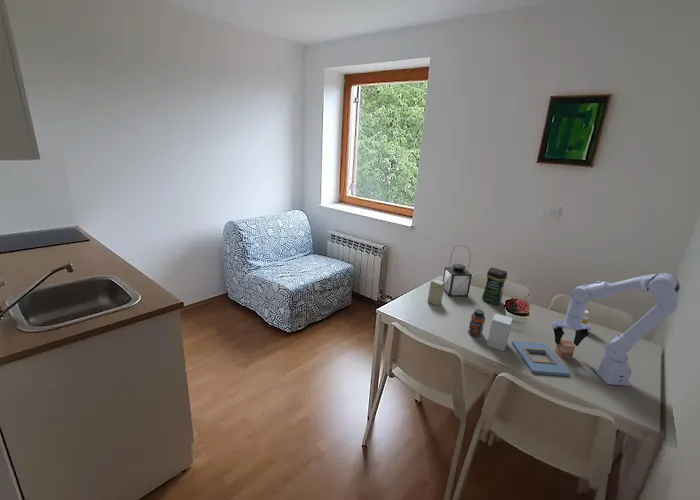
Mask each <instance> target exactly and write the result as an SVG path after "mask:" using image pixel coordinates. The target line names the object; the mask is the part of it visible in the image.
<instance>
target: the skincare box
mask: <svg viewBox="0 0 700 500" xmlns="http://www.w3.org/2000/svg"><path fill="white" fill-rule="evenodd" d="M444 286H445V282H443V280H439V279H436V278H434V279H431V280H430V285H429V291H428V297H427V303H430V304H432V305H434V306H437V307H438V306H440V305H441V304H442V302H443V296H444V292H445V291H444Z"/></svg>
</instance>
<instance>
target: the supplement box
mask: <svg viewBox="0 0 700 500" xmlns="http://www.w3.org/2000/svg"><path fill="white" fill-rule="evenodd" d="M512 323H513V318H512V317H510V316H506V315H502V314H499V313H497V312H496V313H494V315H493V316H492V319H491V325H490V328H489V333H488V339H487V342H486V346H487V347H490V348H493V349H495V350H499V351H501V352H505V350H506V347H507V344H508V341H509V340H508V339H509V336H510V332H511V328H512Z"/></svg>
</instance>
